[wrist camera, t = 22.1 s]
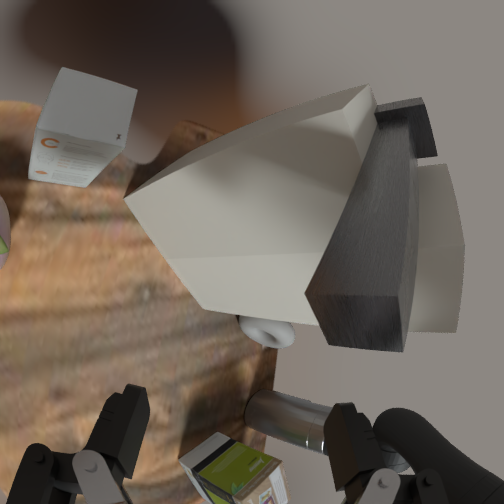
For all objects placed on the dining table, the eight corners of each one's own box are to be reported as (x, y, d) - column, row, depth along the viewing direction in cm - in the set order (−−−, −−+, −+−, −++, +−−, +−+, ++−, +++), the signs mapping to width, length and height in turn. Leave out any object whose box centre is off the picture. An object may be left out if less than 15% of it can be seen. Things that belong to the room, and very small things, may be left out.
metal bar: (334, 357, 10) (451, 367, 7) (292, 270, 8) (469, 266, 5) (391, 148, 25) (433, 142, 21) (377, 105, 22) (421, 97, 19)
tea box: (234, 471, 43) (293, 499, 33) (201, 497, 35) (259, 533, 25) (217, 428, 40) (285, 460, 31) (175, 458, 33) (241, 503, 23)
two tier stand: (203, 308, 40) (456, 332, 18) (123, 198, 31) (442, 89, 9) (248, 250, 49) (453, 238, 27) (190, 151, 39) (422, 73, 17)
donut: (261, 331, 51) (306, 338, 44) (253, 346, 49) (299, 356, 42) (234, 300, 46) (283, 305, 39) (224, 317, 44) (273, 325, 37)
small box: (95, 141, 28) (140, 88, 19) (86, 189, 27) (126, 150, 19) (39, 129, 22) (61, 64, 13) (26, 179, 21) (34, 129, 13)
